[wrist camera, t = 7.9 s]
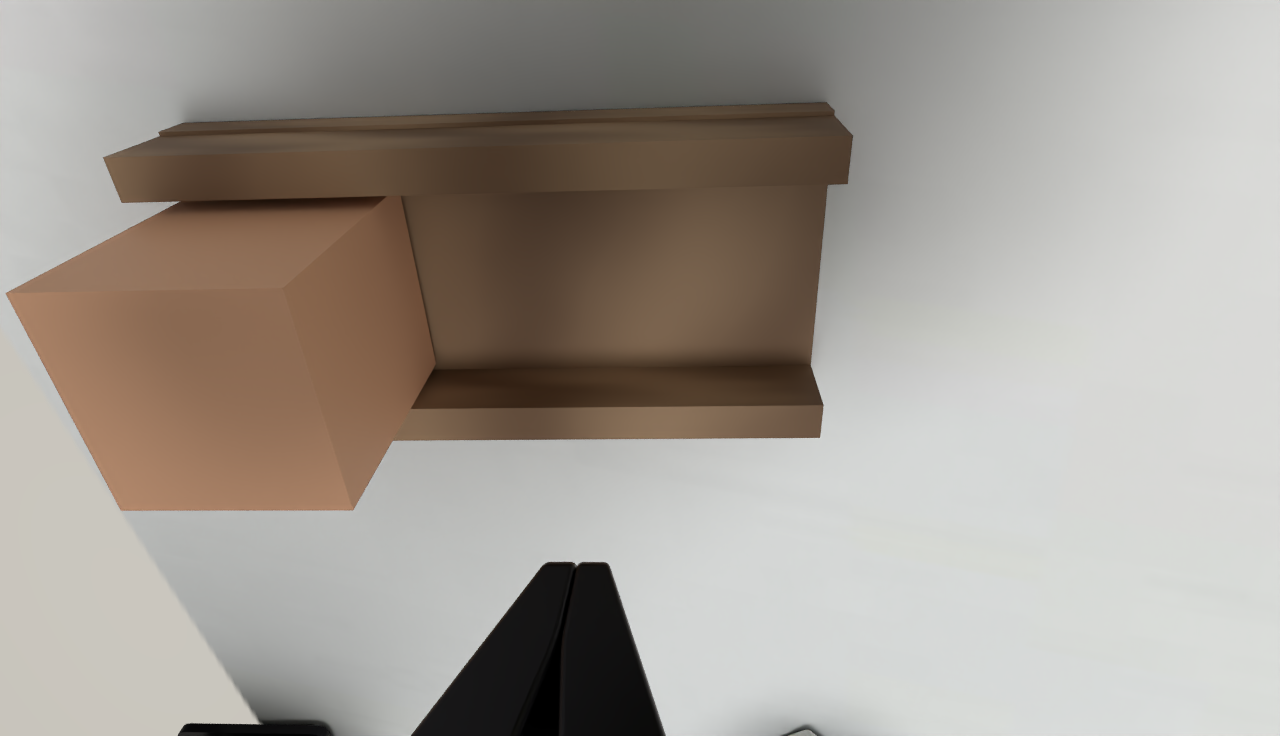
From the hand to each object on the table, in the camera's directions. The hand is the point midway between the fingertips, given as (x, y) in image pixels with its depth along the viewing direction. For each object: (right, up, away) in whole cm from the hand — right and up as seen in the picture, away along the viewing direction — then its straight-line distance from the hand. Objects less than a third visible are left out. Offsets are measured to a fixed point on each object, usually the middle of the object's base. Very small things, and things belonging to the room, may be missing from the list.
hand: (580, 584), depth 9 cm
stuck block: (-7, +5, +9) cm, 13 cm away
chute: (-3, +6, +10) cm, 12 cm away
